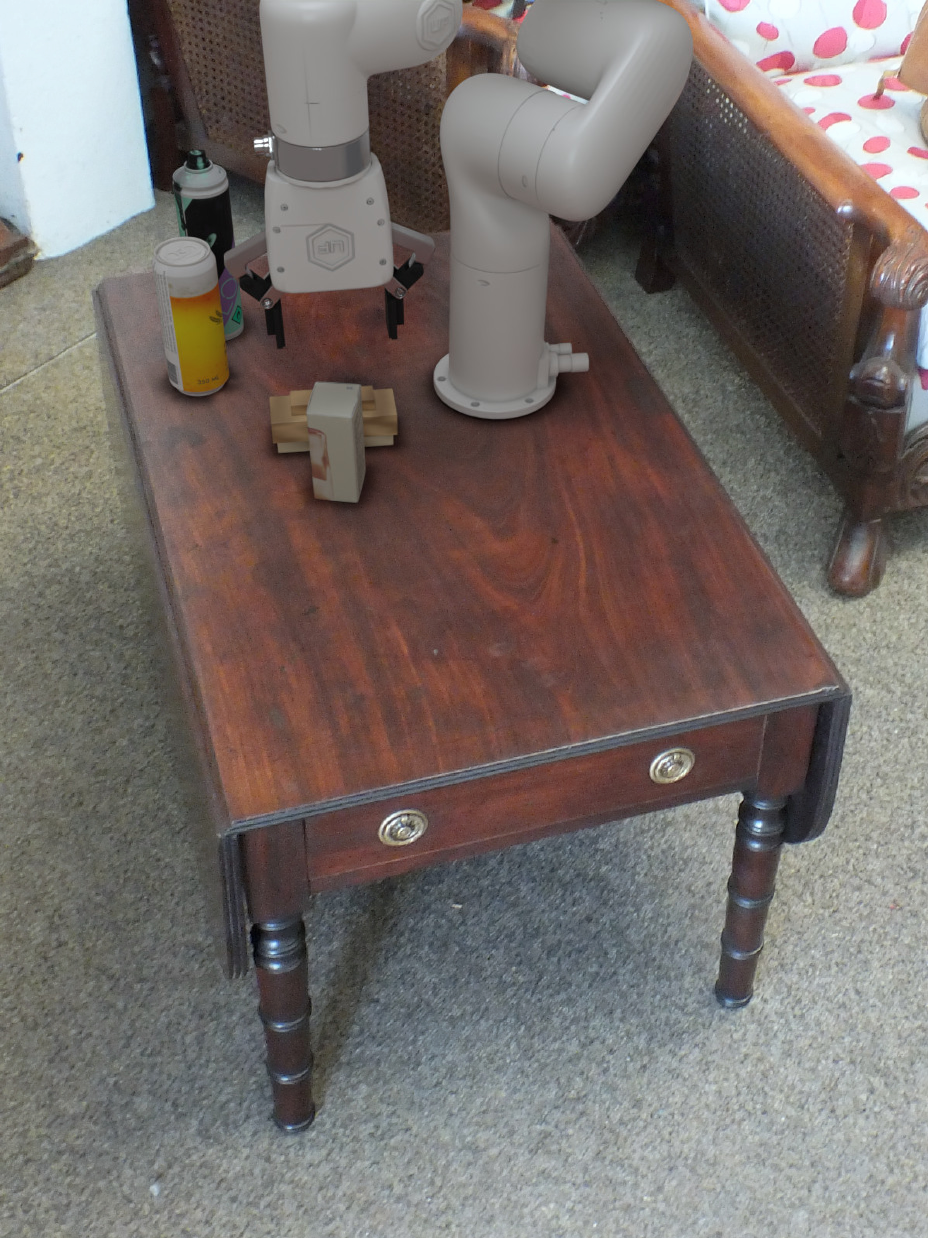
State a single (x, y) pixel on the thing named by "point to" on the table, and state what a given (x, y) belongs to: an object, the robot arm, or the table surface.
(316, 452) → the white box
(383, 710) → the table surface
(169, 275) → the beer can
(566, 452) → the table surface
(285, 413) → the tan rectangular block
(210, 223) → the spray can
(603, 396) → the table surface
